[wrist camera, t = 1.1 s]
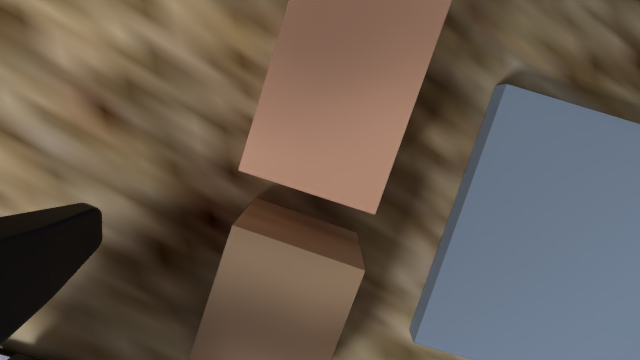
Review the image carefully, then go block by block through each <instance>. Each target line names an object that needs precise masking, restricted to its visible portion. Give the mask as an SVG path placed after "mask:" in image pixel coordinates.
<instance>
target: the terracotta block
mask: <svg viewBox="0 0 640 360" xmlns="http://www.w3.org/2000/svg"><path fill="white" fill-rule="evenodd" d="M451 2H452V0H289V2H288V5H287V8H286V12H285V15H284V18H283V22H282V25H281V28H280V32H279V35H278V38H277V42H276V45H275V49H274V52H273V55H272V59H271V62H270V65H269V69H268V72H267V75H266V79H265V82H264V85H263V89H262V92H261V95H260V99H259V102H258V106H257V109H256V112H255V116H254V119H253V122H252V126H251V129H250V132H249V136H248V139H247V142H246V146H245V149H244V152H243V156H242V159H241V163H240V166H239V169H238V171H242V172H245V173H248V174H251V175H254V176H257V177H260V178H263V179H266V180H269V181H272V182H275V183H278V184H282V185H285V186H288V187H291V188H294V189H297V190H300V191H303V192H306V193H309V194H312V195H315V196H318V197H322V198H325V199H328V200H331V201H334V202H337V203H340V204H343V205H346V206H349V207H352V208H355V209H358V210H362V211H365V212H368V213H371V214H374V215H375V213H376V211H377V208H378V205H379V202H380V199H381V197H382V194H383V191H384V188H385V186H386V183H387V180H388V177H389V174H390V172H391V169H392V166H393V163H394V160H395V158H396V155H397V152H398V149H399V147H400V144H401V141H402V138H403V135H404V133H405V130H406V127H407V124H408V121H409V119H410V116H411V113H412V110H413V107H414V105H415V102H416V99H417V96H418V94H419V91H420V88H421V85H422V82H423V80H424V77H425V74H426V71H427V68H428V66H429V63H430V60H431V57H432V55H433V52H434V49H435V46H436V43H437V41H438V38H439V35H440V32H441V29H442V27H443V24H444V21H445V18H446V15H447V13H448V10H449V7H450V4H451Z"/></svg>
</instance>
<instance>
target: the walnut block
mask: <svg viewBox="0 0 640 360" xmlns="http://www.w3.org/2000/svg"><path fill="white" fill-rule="evenodd" d="M364 273H365V267H364V262H363V257H362V253H361V248H360V243H359V239H358V234H357V232H354V231H351V230H348V229H345V228H342V227H339V226H336V225H333V224H331V223H328V222H325V221H322V220H319V219H316V218H313V217H310V216H307V215H304V214H302V213H299V212H296V211H293V210H290V209H287V208H284V207H281V206H278V205H275V204H273V203H270V202H267V201H264V200H261V199H258V198H255V199H254V200H253V201H252V202H251V204H250V205H249V206H248V207H247V208H246V209H245V211H244V212H243V213H242V214H241V215H240V217H239V218H238V219H237V220H236V221H235V222H234V224H233V225H232V227H231V230H230V233H229V237H228V240H227V243H226V246H225V249H224V252H223V255H222V258H221V261H220V264H219V267H218V270H217V274H216V277H215V280H214V283H213V286H212V289H211V292H210V295H209V298H208V301H207V304H206V307H205V311H204V314H203V317H202V320H201V323H200V326H199V329H198V332H197V335H196V338H195V341H194V344H193V347H192V351H191V354H190V357H189V360H331V359H332V356H333V353H334V351H335V348H336V346H337V343H338V340H339V338H340V335H341V333H342V330H343V327H344V325H345V322H346V320H347V317H348V314H349V312H350V309H351V307H352V304H353V301H354V299H355V296H356V294H357V291H358V288H359V286H360V283H361V281H362V278H363V275H364Z"/></svg>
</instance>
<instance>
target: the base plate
mask: <svg viewBox="0 0 640 360" xmlns="http://www.w3.org/2000/svg"><path fill="white" fill-rule="evenodd" d="M409 330H410V333H411V336H412V339H413V342H414V343H416V344H420V345H423V346H427V347H430V348H434V349H437V350H441V351H444V352H448V353H451V354H455V355H458V356H462V357H465V358H469V359H472V360H640V124H637V123H634V122H631V121H628V120H624V119H621V118H618V117H614V116H611V115H608V114H605V113H601V112H598V111H595V110H591V109H588V108H585V107H581V106H578V105H575V104H572V103H568V102H565V101H562V100H558V99H555V98H552V97H548V96H545V95H542V94H539V93H535V92H532V91H529V90H525V89H522V88H519V87H516V86H512V85H509V84H502V85H496V86H495V89H494V92H493V95H492V98H491V100H490V103H489V106H488V109H487V112H486V115H485V117H484V120H483V123H482V126H481V129H480V131H479V134H478V137H477V140H476V143H475V146H474V148H473V151H472V154H471V157H470V160H469V162H468V165H467V168H466V171H465V174H464V177H463V179H462V182H461V185H460V188H459V191H458V193H457V196H456V199H455V202H454V205H453V208H452V210H451V213H450V216H449V219H448V222H447V224H446V227H445V230H444V233H443V236H442V239H441V241H440V244H439V247H438V250H437V253H436V256H435V258H434V261H433V264H432V267H431V270H430V272H429V275H428V278H427V281H426V284H425V287H424V289H423V292H422V295H421V298H420V301H419V303H418V306H417V309H416V312H415V315H414V318H413V320H412V323H411V326H410V329H409Z"/></svg>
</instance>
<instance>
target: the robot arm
mask: <svg viewBox="0 0 640 360" xmlns="http://www.w3.org/2000/svg"><path fill="white" fill-rule="evenodd" d="M101 241H102V214H101V211H100V210H99V209H98V208H96V207H94V206H91V205H89V204H86V203H78V204H72V205H66V206H61V207H55V208H49V209H44V210H38V211H32V212H27V213H21V214H15V215H10V216H4V217H0V345H1V344H2V343H3V342H4V341H5V340H7V339H8V338H9V337H10V336H11V335H12V334H13V333H14V332H15V331H16V330H18V329H19V328H20V327H21V326H22V325H23V324H24V323H25V322H26V321H27V320H29V319H30V318H31V317H32V316H33V315H34V314H35V313H36V312H37V311H38V310H40V309H41V308H42V307H43V306H44V305H45V304H46V303H47V302H48V301H49V300H50V299H51V298H52V297H53V296H54V295H55V294H56V293H57V292H58V291H59V290H60V289H61V288H62V287H63V286H64V285H65V283H66V282H67V281H68V280H69V279H70V278H71V277H72V276H73V275H74V274H75V273H76V271H77V270H78V269H79V268H80V267H81V266H82V265H83V264H84V263H85V262H86V260H87V259H88V258H89V257H90V256H91V255H92V254H93V253H94V252H95V251H96V250H97V248H98V247H99V245H100V244H101ZM0 360H40V359H37V358H33V357H29V356H26V355H22V354H19V353H15V352H12V351H8V350H4V349H1V348H0Z"/></svg>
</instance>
